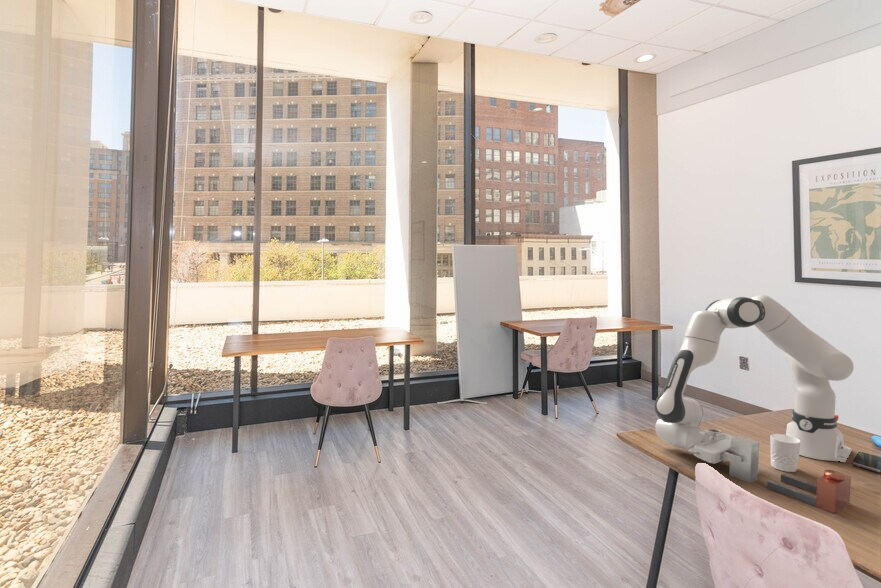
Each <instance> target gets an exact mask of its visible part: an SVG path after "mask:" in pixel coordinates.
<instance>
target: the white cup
mask: <svg viewBox="0 0 881 588" xmlns="http://www.w3.org/2000/svg"><path fill="white" fill-rule="evenodd" d="M769 437H770V438H769V439H770V440H769V442H770V444H769V445H770V446H769V448H770V454H769V455H770V465H771V467H772V468H774V469H776V470H779V471H781V472H786V473H795V472H797V470H798V463H799V458H800V455H799V451H800V442H801V441H800V440H799V439H797V438H795V437H792V436H788V435H786V434H784V433H783V434H782V433H781V434H780V433H773V434H770V436H769Z"/></svg>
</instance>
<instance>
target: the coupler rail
mask: <svg viewBox="0 0 881 588" xmlns="http://www.w3.org/2000/svg"><path fill="white" fill-rule="evenodd" d="M816 479H817V480H816V481H817V482H816V484H814V483H812V482H811V483H810V482H809V481H805V480H803V479H799V478H797V477H794V476H791V475H790V474H789V475H788V474H786V473H782V474H781V475H780V482H783V483H785V484H787V485H791V486H793V487H796V488H798V489H802V490H804V491H807V492H810V493H812V494H815V495H816V496H814V495H811V494H808V493H805V492H804V491H800V490H797V489H795V488H792V487H789V486H787V485H784V484H781V483H778V482H776V481H773V480H770V479H769V480H767V481H766V488H767V489H769V490H772V491H774V492H777V493H780V494H782V495H785V496H787V497H790V498H793V499H795V500H798V501H799V502H803V503H806V504H808V505H811V506H812V507H813V506H814V507H816V508H818V509H821V510H822V511H823V510H824V511H826V512H829V513H832V514H836V513H838V512H839V511H841V510H842V509H844V508H846V507H847V506H848V504H849V505H850V502H851V488H852V487H851V486H852V485H851V483H852V476H851V475H849V474H845V473H843V472H841V471H837V470H833V469H824V470H823V475H821V476H819V477H818V478H816ZM845 506H846V507H845Z"/></svg>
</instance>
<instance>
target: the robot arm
mask: <svg viewBox="0 0 881 588" xmlns="http://www.w3.org/2000/svg"><path fill="white" fill-rule="evenodd" d="M752 326H755V327H756V328H757V330H759V332H761V333H762V334H763V335H764V336H765V337H767V339H768V340H769V341H771V342H772V343H773V344H774V345H775V346H776V347H777V348H778V349H780V350H782V351H783V352H784V357H785V360H786V362H787V363H788V365H789V367H790V372H791V377H792V380H793V387H794V403H793V404H794V406H793V407H794V408H793V410H792V412H791V421H790V422H789V423H787V424H786V431H785V435H788V436H792V437H795V438H797V439H799V440H800V441H801V442H800V451H799V456H803V457H806V458H811V459H815V460H819V461H831V462H832V461H833V462H838V461H840V462H841V463H846V462H847V461H848V459H849V457H850V456H849V455H851V454H852V452H853V451H852V448H851V447H848V446H847V445H845V444H844V443H845V442H844V434H843V433H842V432H841V431H840V429H838V428H837V427H838V422H837V421H839V418H840V417H839V415H838V414H835V413H836V398H837V397H836V394H835V391H834V389H833V388H832V386H831V384H830V381H835V382H837V381H838V382H839V381H843V380H847V378H849V377H850V376H851V375H852V373H853V372H854V363H853V360H852V359H851V358H850V357H849V356H848V355H847V354H845V353H843V352H842V351H840V350H839V349H838V348H836V347H835V346H834V345H832V344H831V343H829V342H828V341H827V340H825V339H824V338H822V337H821V336H820V335H818V334H817V333H816V332H814V331H812V330H811V329H809V328H808V326H806V325H805V324H804V323H802V322H801V320H799V319H798V318H797V317H796V316H795V315H794V314H792V312H791V311H789V310H788V309H787V308H786V307H785V306H783V305H782V304H781V303H780V302H778V301H776V300H775V299H773V298H772V297H770V296H768V295H766V294H757V295H754V296H752V297H744V296H739V297H727V298H723V299H717V300H714V301H713V302H711V303H710V304H708V306H707V307H705V309H701V310H698V311H695V312H694V313H693V314H692V315H691V317H690V319H689V321H688V324H687V326H686V330H685V333H684V337H683V340H682V344H681V347H680V348H679V351H678V352H676V353H677V354H676V355H675V356H674V358H673V360H672V363H671V366H670V369H669V371H668V374H667V377H666V380H665V383H664V385H663V387H662V390H661V392H660V393H659V395H658V396H657V397H656V399H655V401H654V411H655V414H656V416H657V418H658V419H657V421H656V422H655V427H654V428H655V433H656V435H657V436H658V438H659V439H660V440H661V441H663V442H665V443H666V444H668V445H671V446H673V447H676V448H678V449H685V450H686V451H688V452H689V453H692V454H693V456H695V457H696V458H698V459H699V460H702V461H704V462H707V463H709V464H717V463H720V462H723V461H728V462H730V461H735V462H738V463H741V462H743V457H742V456H739V455H733V454H730V446H731V438H733V437H736V436H734V435H731V434H728V433H724V432H722V430H720V429H716V428H715V429H706V428H700V424H701V422H702V420H703V414H704V412H703V411H704V410H703V407H702V405H701V403H700V402H699V401H697V399H695V398H690V397H686V396H684V392H685V389H686V386H687V384H688V381H689V378H690V376H691V374H692V372H693V371H694V370H696V369H697V368H699V367H704V366H706V365H709V364H710V363H712V362H713V361H714V359H715V357H716V356H717V353H718V351H719V350H718V349H719V345H720V341H721V335H722V333H723V332H724V331H725V330H726V329H739V328H748V327H752ZM851 451H852V452H851ZM850 453H851V454H850ZM847 458H848V459H847ZM846 460H847V461H846ZM840 462H839V463H840Z"/></svg>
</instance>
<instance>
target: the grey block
mask: <svg viewBox="0 0 881 588" xmlns="http://www.w3.org/2000/svg"><path fill="white" fill-rule="evenodd" d="M730 454H733V455H739V456H742V457H743V462H741V463H738V462H735V461H729V474H728V475H729V476H731V477H734V478H736V479H738V480H741V481H744V482H745V483H749V484H751V483H753V482H755V481H757V480H758V479H759V477H758V476H759V460H760V459H759V458H760V441H757V440H753V439H750V438H747V437H744V436H742V435H741V436H740V435H736V436H735V437H733V438H731V446H730Z"/></svg>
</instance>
